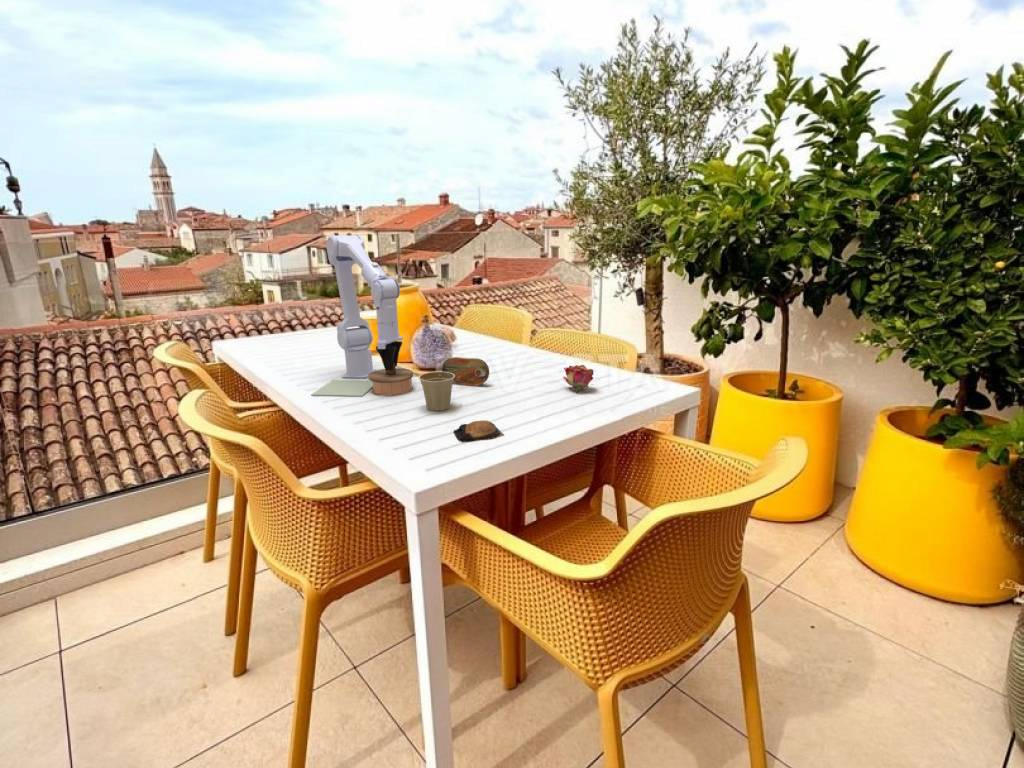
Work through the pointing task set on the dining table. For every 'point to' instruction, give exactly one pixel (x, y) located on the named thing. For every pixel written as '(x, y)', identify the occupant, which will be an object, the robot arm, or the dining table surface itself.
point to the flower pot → (437, 389)
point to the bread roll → (477, 431)
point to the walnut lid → (390, 375)
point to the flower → (578, 376)
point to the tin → (467, 370)
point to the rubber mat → (345, 388)
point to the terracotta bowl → (392, 387)
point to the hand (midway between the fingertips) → (391, 367)
